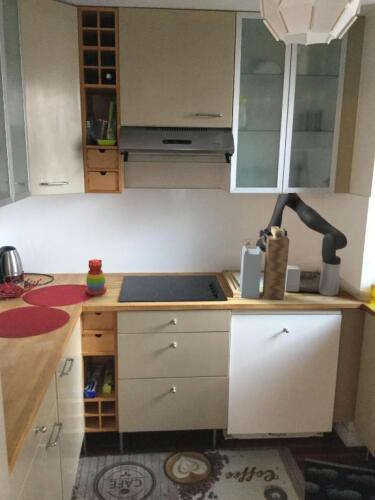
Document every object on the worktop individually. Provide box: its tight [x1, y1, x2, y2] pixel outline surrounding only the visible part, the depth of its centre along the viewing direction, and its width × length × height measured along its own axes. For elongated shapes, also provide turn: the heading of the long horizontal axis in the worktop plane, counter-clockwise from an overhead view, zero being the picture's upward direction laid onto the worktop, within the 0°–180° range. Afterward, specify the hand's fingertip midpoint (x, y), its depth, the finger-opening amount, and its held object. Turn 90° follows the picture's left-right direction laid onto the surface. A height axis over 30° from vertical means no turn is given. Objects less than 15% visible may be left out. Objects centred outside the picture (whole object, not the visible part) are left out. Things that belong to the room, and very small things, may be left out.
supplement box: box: [285, 264, 302, 292], centre depth 236 cm, size 7×7×13 cm
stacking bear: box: [84, 258, 107, 296], centre depth 223 cm, size 11×10×18 cm
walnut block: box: [261, 235, 290, 301], centre depth 220 cm, size 10×7×32 cm
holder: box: [239, 245, 263, 299], centre depth 225 cm, size 9×10×25 cm
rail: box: [271, 226, 286, 240], centre depth 219 cm, size 4×15×4 cm, turn 179°
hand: (275, 230), depth 223 cm, fingers open, 8 cm apart
